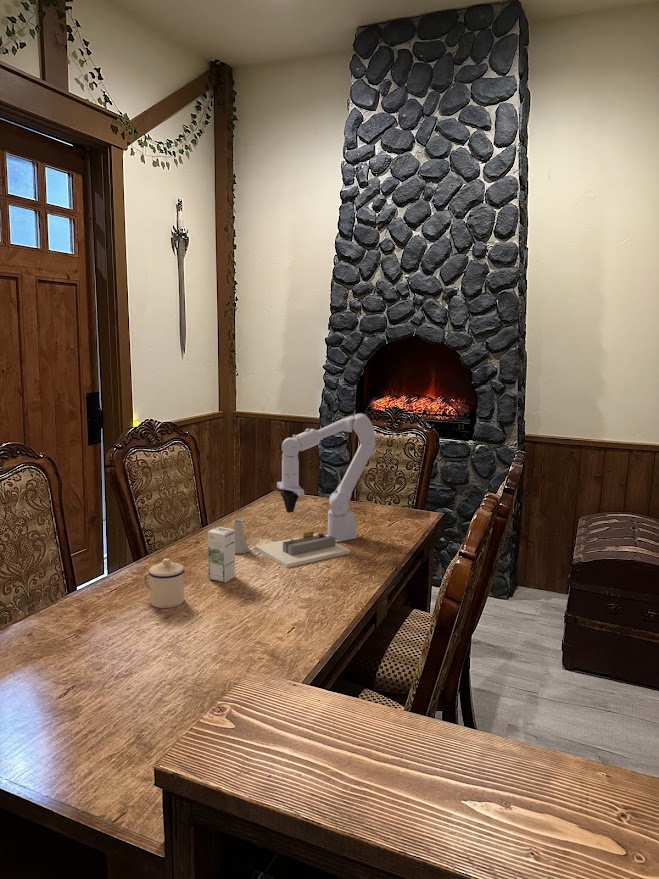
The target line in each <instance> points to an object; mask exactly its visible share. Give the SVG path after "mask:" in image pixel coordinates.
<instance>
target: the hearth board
mask: <svg viewBox="0 0 659 879" xmlns="http://www.w3.org/2000/svg"><path fill="white" fill-rule="evenodd" d="M316 535H318V534H317V533H314V536H316ZM296 539H299V536H298V537H295V538H287V539H283V540H279V541H273V542H268V543H263V544H258V545H254V550H255V551H256V552H259V553H260V554H262V555H264V556H266V557H268V558H269V559H270V560H272V561H274V562H276V563H277V564H279V565H281V566H283V567H285V568H286V569H287V568H291V567H296V566H300V565H305V564H309V562H310V563H313V562H317V561H323V560H327V559H331V558H335V557H339V556H340V557H341V556H343V555H349V554H351V549H350V548H348V547H346V546H343V545H341V544H340V543H339V544H338V542H336V537H333V536H328V537H323V538H318V539H313V540H308V541H303V542H298V543H293V544H289V545H288V553H285V552H284V551H283V542H286V541H291V540H296Z"/></svg>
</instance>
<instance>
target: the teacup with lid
mask: <svg viewBox="0 0 659 879" xmlns="http://www.w3.org/2000/svg"><path fill="white" fill-rule="evenodd" d="M185 571H186V570H185V567H184V566H183V565H182V564H180V563H177V562H173V561H171V559H170V558H162V561H161V562H160V563H157V564H154V565H153V566H151V567H149V569H148V571H147V572H145V573H144V574H143V575H142V578H141V581H142V585H143V586H144V588H145V589H146V590H147V591H149V595H150V596H149V598H150V604H151V606H153V607H154V608H157V609H171V608H175V607H178V606H180V605H182V604H183V603H184V601H185V575H184V574H185ZM147 576H149V583H148V581H147Z"/></svg>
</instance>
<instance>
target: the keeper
mask: <svg viewBox="0 0 659 879" xmlns="http://www.w3.org/2000/svg"><path fill="white" fill-rule="evenodd" d="M314 532H315V531H314V530H312V529H304V530H299V532H298V537H299V539H301V538H306V537H311V536H314V534H315V533H314Z"/></svg>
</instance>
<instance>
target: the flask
mask: <svg viewBox="0 0 659 879" xmlns="http://www.w3.org/2000/svg"><path fill="white" fill-rule="evenodd" d="M232 522H233V529H234V530H235V555H238V554H246V553H248V552H249V551H250V549H249V546H248V542H247V540H246V537H245V535H244V530H243V523H244V520H242V519H234V520H233V521H232Z"/></svg>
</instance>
